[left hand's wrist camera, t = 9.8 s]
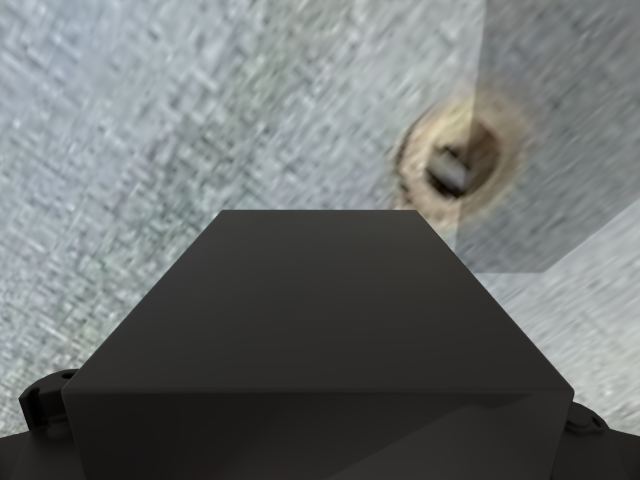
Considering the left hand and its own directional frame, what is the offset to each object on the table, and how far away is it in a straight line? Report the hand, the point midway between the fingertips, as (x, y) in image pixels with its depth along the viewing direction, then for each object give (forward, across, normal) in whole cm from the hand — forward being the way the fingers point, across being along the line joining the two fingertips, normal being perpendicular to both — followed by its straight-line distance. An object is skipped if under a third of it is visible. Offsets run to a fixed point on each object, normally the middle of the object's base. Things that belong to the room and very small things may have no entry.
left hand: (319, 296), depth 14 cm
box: (+1, 0, -8) cm, 8 cm away
